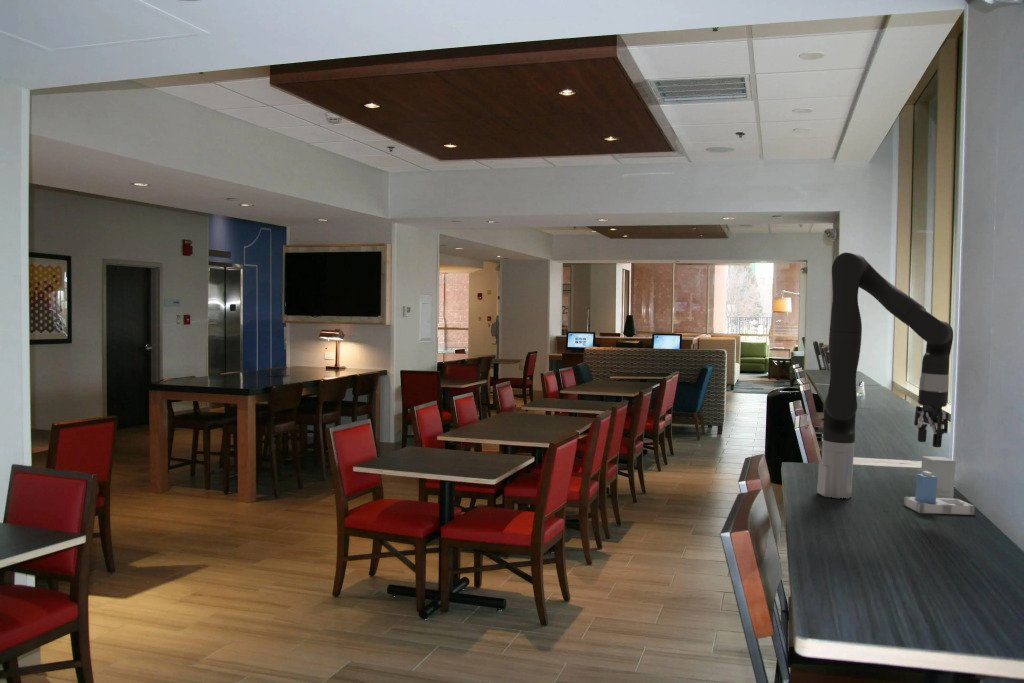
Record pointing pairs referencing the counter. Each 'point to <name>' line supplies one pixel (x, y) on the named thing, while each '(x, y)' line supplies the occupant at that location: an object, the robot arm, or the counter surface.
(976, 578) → the counter surface
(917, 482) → the plug
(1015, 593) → the counter surface
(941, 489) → the supplement box
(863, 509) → the counter surface
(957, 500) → the jack panel
